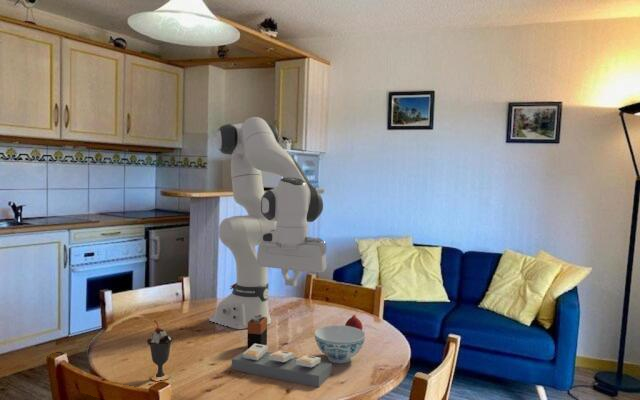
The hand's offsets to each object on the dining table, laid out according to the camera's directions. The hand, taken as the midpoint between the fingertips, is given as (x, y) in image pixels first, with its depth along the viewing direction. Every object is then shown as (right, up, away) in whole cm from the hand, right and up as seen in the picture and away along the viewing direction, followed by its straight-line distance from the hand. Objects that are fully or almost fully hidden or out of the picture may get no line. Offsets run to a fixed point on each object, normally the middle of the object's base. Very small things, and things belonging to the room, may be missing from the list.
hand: (290, 285), depth 137 cm
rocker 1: (-10, -19, 0) cm, 21 cm away
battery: (-11, -22, +14) cm, 29 cm away
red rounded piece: (+19, -22, +26) cm, 39 cm away
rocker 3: (+5, -20, -7) cm, 21 cm away
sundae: (-34, -23, -9) cm, 42 cm away
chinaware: (+14, -23, +7) cm, 28 cm away
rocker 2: (-2, -19, -3) cm, 20 cm away
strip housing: (-2, -23, -3) cm, 24 cm away
